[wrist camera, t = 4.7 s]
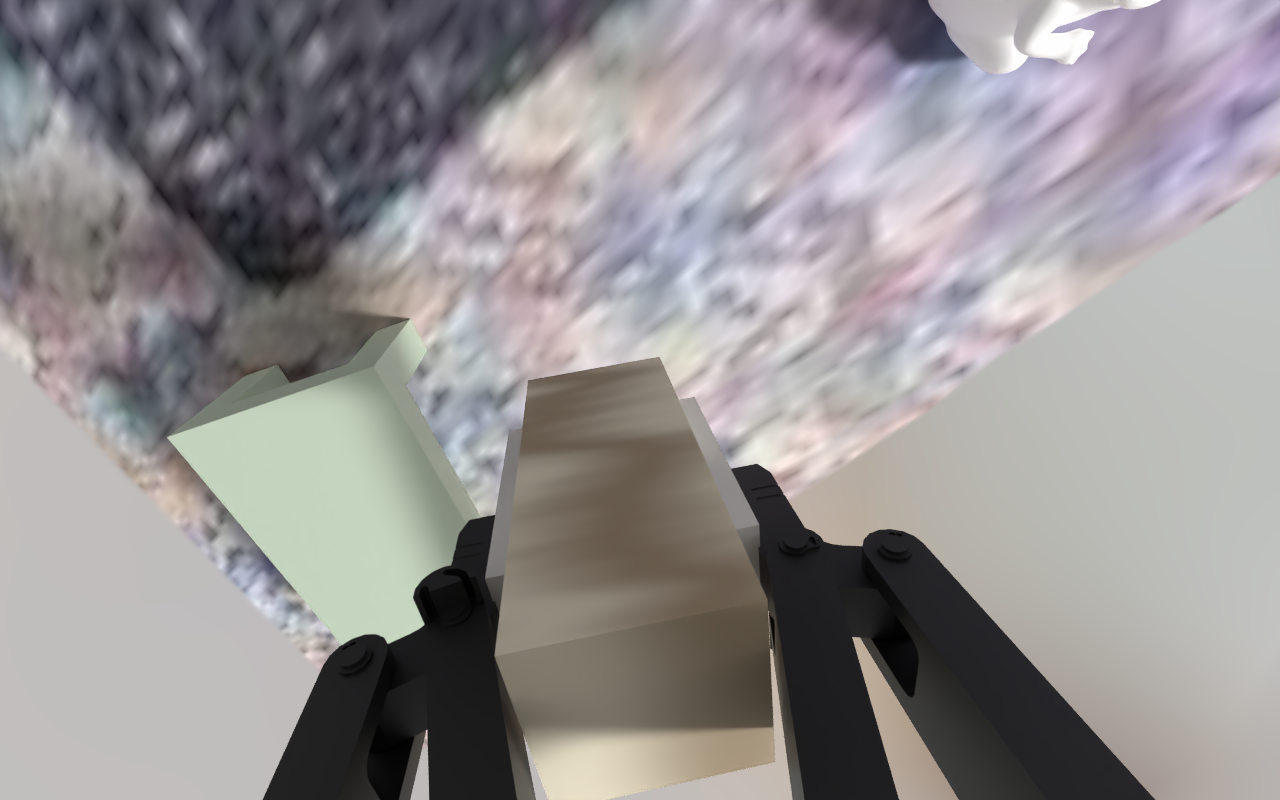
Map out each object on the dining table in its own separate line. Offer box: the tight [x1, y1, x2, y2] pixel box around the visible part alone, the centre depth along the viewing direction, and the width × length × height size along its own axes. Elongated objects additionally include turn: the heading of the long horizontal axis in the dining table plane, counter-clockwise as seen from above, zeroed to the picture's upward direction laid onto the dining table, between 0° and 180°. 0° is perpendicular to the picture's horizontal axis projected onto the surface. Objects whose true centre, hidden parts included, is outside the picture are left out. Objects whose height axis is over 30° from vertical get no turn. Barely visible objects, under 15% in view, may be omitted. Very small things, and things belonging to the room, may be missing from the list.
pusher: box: [495, 357, 775, 800], centre depth 18 cm, size 4×18×11 cm, turn 8°
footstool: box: [167, 319, 481, 645], centre depth 32 cm, size 18×10×7 cm, turn 17°
